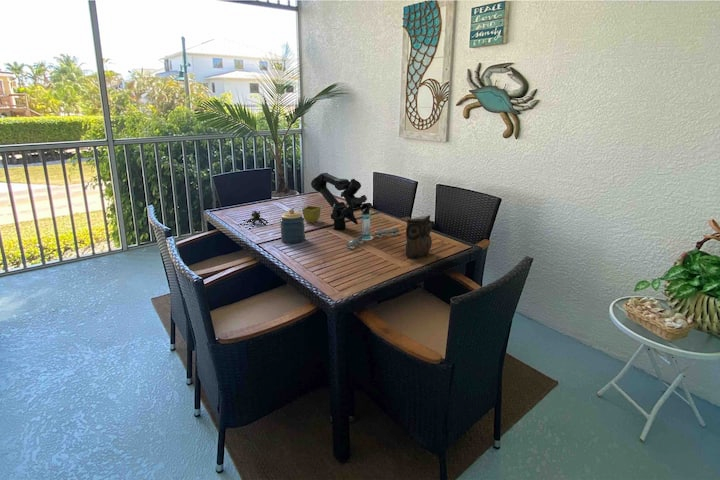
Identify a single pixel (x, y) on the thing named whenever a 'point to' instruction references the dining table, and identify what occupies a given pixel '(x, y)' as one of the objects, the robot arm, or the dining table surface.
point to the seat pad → (368, 239)
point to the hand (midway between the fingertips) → (363, 222)
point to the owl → (418, 237)
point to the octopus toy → (256, 217)
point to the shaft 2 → (386, 232)
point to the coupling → (366, 226)
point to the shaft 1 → (357, 240)
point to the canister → (292, 227)
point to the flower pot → (311, 213)
